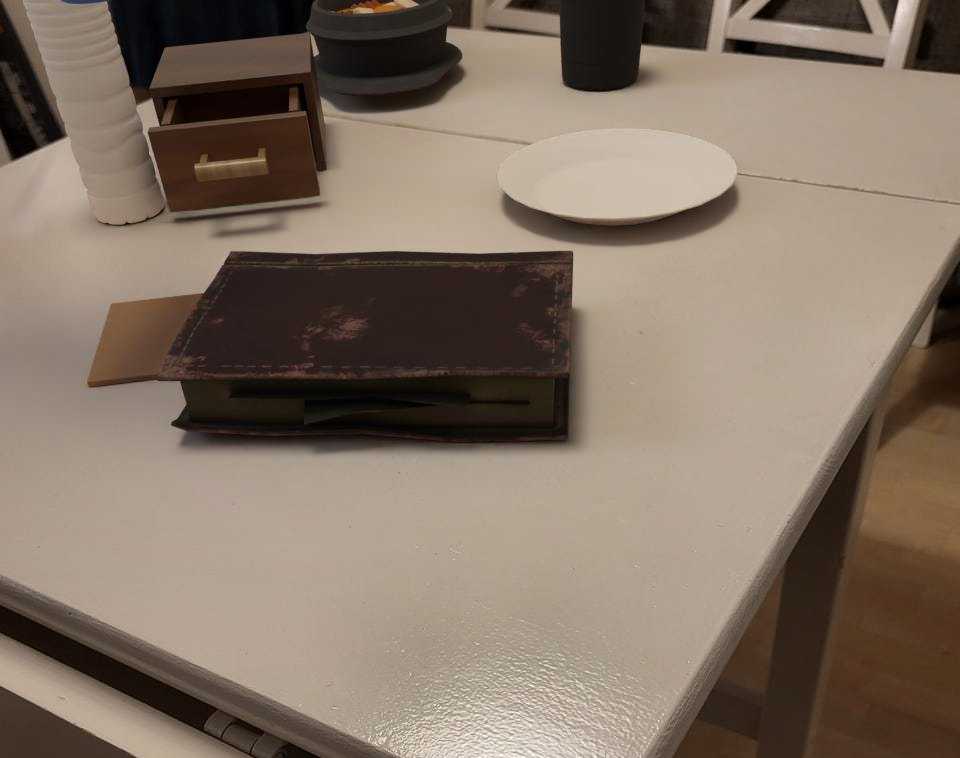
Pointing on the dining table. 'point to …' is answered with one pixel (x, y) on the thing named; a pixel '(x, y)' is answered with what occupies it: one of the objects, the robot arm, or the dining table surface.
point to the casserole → (381, 45)
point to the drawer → (235, 148)
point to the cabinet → (244, 75)
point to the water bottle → (97, 108)
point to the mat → (138, 338)
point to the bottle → (83, 1)
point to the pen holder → (600, 42)
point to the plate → (617, 175)
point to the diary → (380, 346)
